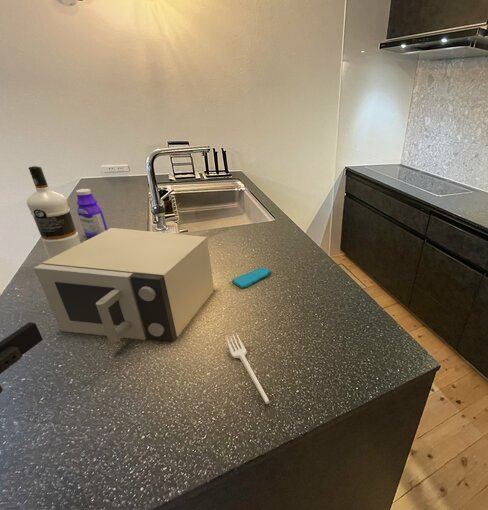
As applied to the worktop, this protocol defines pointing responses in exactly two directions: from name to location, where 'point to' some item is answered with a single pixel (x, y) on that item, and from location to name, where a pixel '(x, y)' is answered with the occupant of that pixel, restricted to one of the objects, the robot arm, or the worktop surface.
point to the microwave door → (92, 301)
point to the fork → (246, 364)
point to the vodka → (51, 216)
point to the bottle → (90, 213)
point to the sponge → (251, 277)
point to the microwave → (151, 273)
